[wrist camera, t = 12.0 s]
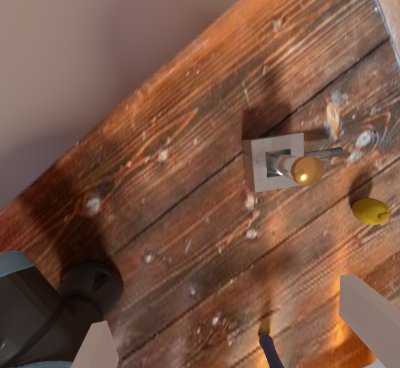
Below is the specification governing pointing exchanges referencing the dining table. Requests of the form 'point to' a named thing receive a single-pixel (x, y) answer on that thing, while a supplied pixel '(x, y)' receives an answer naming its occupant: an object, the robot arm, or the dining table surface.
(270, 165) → the grey gold cylinder
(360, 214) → the apple
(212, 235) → the dining table surface
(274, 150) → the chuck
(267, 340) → the rubber mallet
